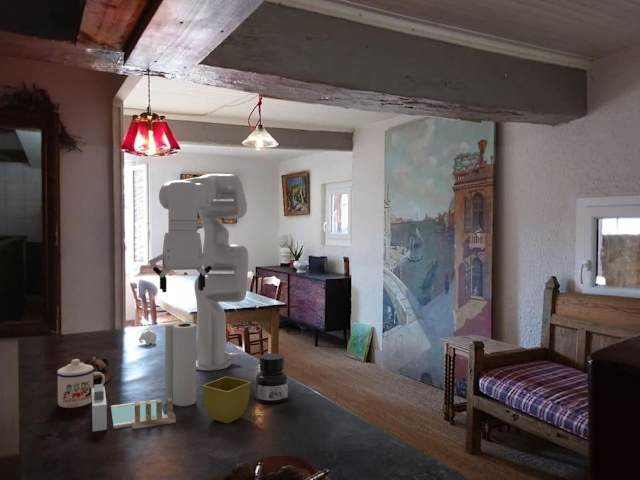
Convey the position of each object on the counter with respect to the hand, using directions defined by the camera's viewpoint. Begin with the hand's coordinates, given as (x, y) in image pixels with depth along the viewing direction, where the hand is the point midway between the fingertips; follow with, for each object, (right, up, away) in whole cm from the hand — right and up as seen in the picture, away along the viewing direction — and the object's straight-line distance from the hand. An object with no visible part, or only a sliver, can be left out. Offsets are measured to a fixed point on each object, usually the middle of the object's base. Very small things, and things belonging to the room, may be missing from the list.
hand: (182, 291), depth 135 cm
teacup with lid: (-28, -30, +2) cm, 41 cm away
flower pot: (+14, -31, -10) cm, 35 cm away
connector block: (-18, -31, -11) cm, 37 cm away
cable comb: (-3, -31, -13) cm, 34 cm away
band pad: (-9, -31, -7) cm, 33 cm away
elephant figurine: (-32, -28, +67) cm, 79 cm away
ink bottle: (+24, -31, +5) cm, 39 cm away
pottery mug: (-33, -30, +20) cm, 49 cm away
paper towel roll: (0, -31, +1) cm, 31 cm away
